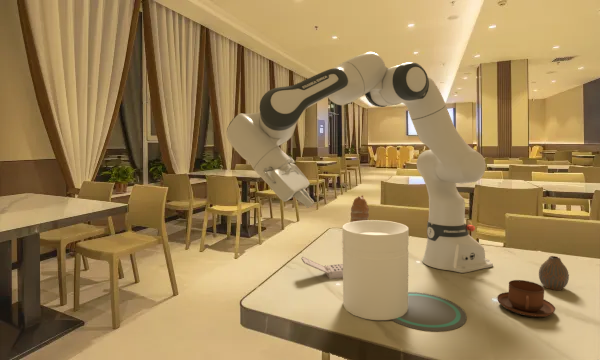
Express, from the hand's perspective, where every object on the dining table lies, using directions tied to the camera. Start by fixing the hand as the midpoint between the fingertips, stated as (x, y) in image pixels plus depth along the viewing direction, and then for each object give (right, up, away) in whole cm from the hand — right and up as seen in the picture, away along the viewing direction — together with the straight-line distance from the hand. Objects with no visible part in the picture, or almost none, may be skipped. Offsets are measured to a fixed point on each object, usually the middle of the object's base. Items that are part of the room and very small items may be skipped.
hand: (311, 205), depth 90 cm
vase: (+69, -24, +10) cm, 74 cm away
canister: (+16, -25, -1) cm, 30 cm away
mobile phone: (+10, -24, +20) cm, 33 cm away
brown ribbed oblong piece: (+23, -18, +67) cm, 73 cm away
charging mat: (+26, -25, 0) cm, 36 cm away
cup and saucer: (+53, -26, -3) cm, 59 cm away
